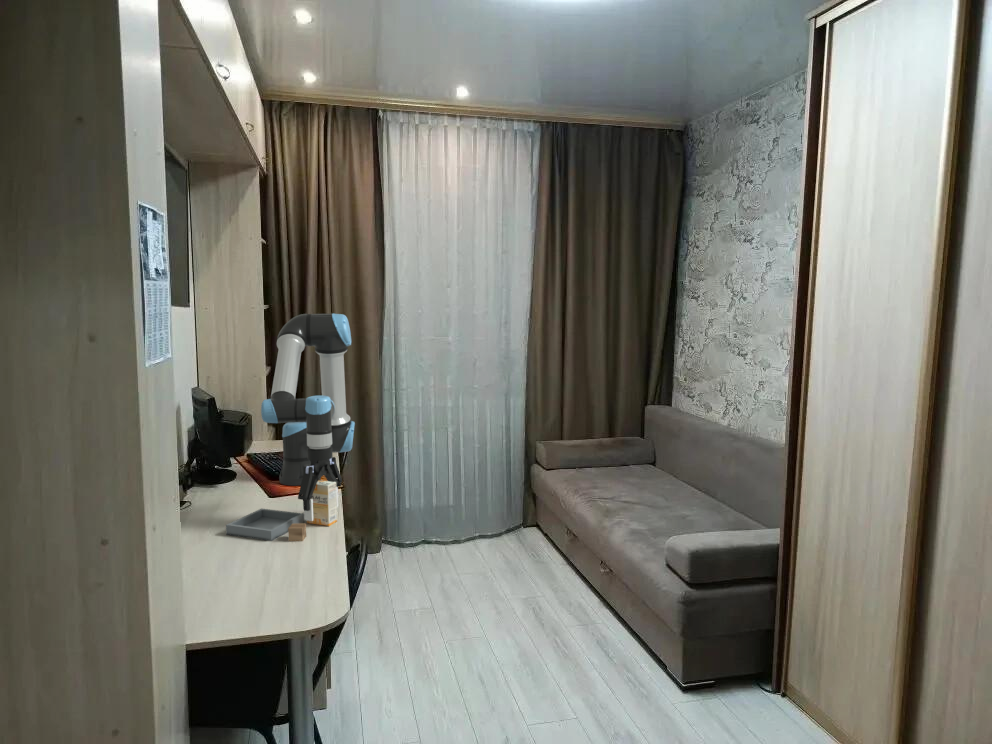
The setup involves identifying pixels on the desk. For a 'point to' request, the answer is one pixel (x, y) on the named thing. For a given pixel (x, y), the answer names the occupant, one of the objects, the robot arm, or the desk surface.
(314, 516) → the supplement box
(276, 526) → the tray
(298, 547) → the desk surface
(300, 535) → the walnut block
